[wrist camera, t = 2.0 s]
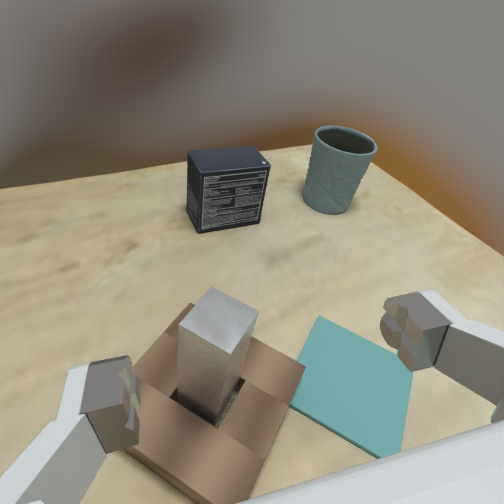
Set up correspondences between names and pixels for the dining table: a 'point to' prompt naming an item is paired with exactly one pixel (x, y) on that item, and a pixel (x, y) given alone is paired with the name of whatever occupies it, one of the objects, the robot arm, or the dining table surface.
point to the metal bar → (213, 353)
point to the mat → (353, 388)
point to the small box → (225, 187)
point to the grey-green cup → (336, 167)
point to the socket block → (204, 434)
